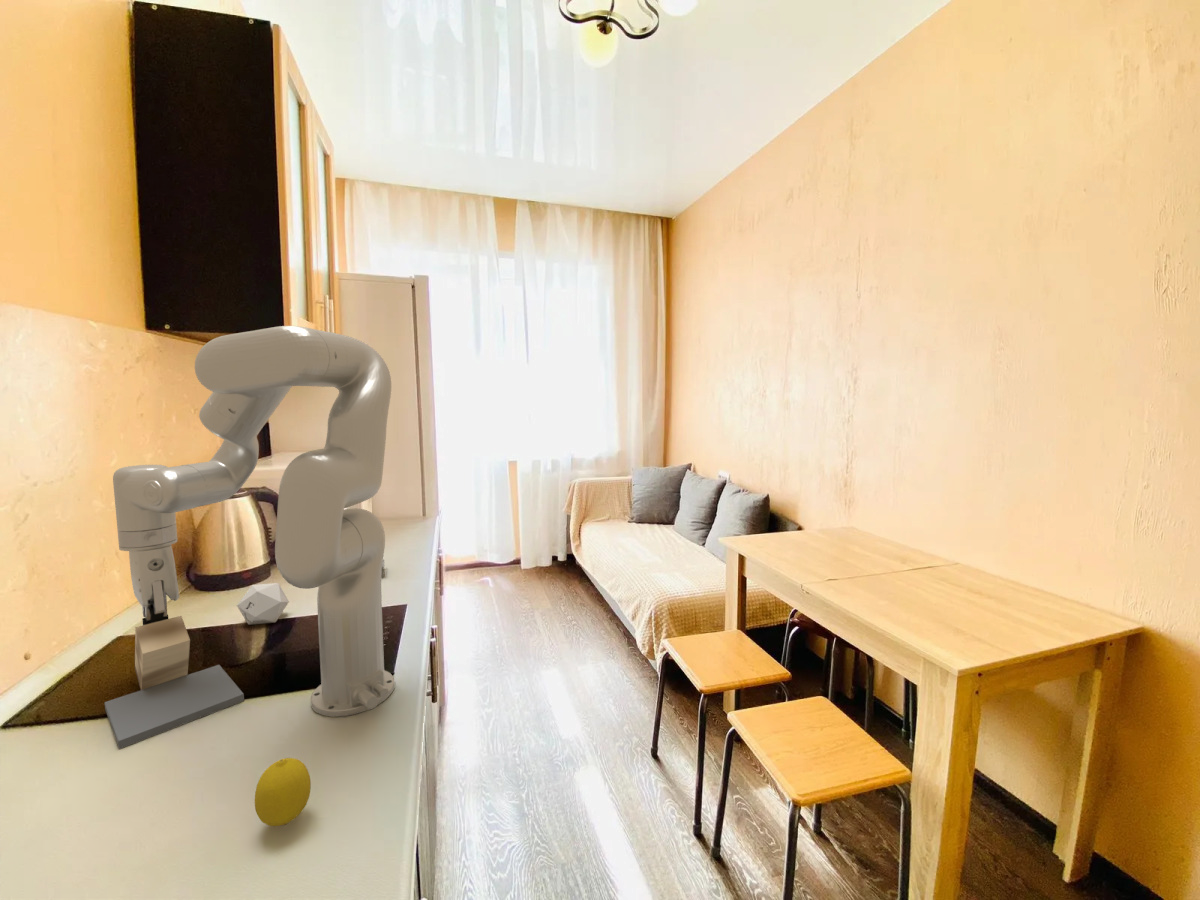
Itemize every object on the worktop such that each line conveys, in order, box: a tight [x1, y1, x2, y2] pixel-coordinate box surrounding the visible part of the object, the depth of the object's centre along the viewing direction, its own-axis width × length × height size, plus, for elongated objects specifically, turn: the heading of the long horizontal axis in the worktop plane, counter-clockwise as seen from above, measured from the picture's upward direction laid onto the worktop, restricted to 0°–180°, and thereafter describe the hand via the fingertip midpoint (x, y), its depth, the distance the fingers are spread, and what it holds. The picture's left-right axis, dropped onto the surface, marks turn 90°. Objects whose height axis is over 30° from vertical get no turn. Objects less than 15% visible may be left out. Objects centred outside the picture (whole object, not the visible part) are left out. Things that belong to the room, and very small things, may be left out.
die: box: [236, 582, 290, 626], centre depth 112 cm, size 8×9×10 cm
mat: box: [104, 664, 245, 750], centre depth 81 cm, size 14×15×1 cm
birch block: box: [134, 615, 191, 691], centre depth 86 cm, size 6×6×10 cm
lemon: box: [254, 757, 311, 827], centre depth 58 cm, size 6×6×8 cm
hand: (157, 638), depth 88 cm, fingers closed
